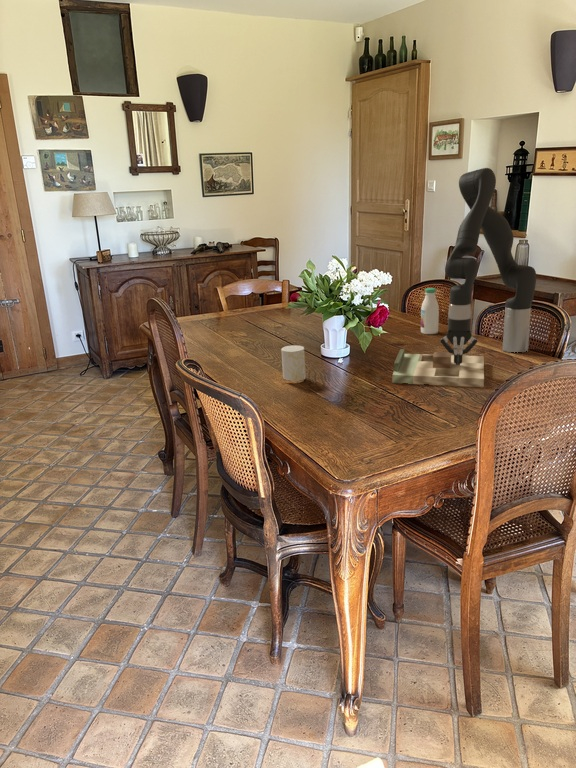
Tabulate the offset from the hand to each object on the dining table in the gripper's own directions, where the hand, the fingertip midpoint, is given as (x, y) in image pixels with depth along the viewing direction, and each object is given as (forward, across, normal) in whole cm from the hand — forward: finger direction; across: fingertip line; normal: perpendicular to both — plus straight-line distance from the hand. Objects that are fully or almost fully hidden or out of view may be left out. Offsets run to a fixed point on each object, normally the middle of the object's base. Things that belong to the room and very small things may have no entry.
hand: (457, 364), depth 205 cm
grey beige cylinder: (+4, +56, +14) cm, 58 cm away
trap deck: (+4, +6, 0) cm, 7 cm away
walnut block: (+1, +5, 0) cm, 5 cm away
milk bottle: (+4, +14, -58) cm, 60 cm away
